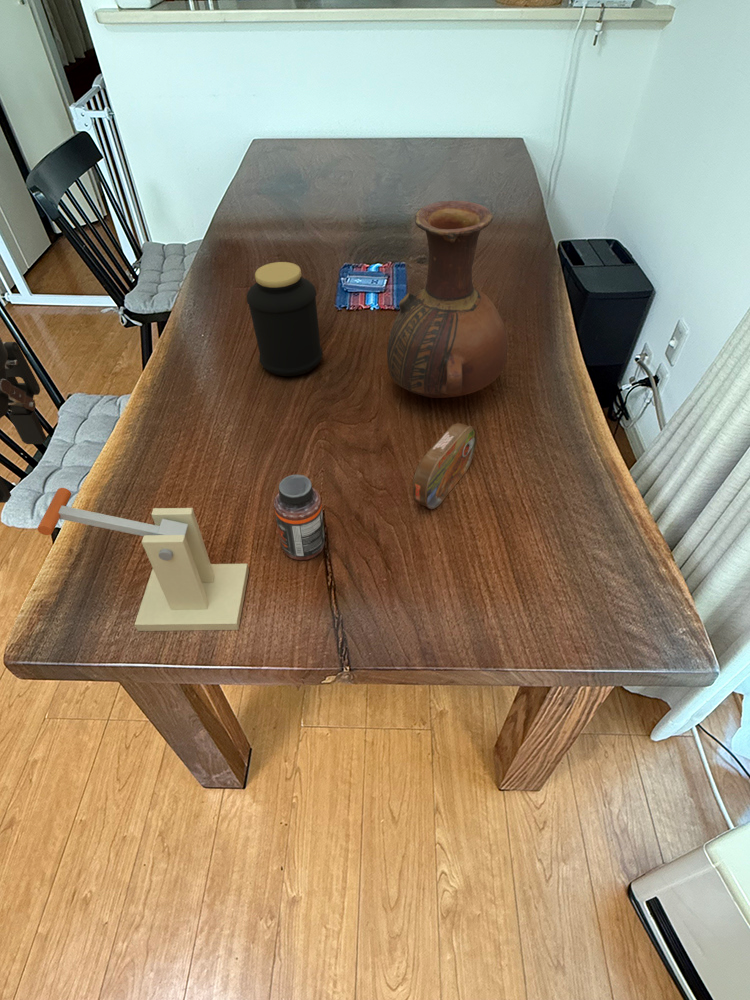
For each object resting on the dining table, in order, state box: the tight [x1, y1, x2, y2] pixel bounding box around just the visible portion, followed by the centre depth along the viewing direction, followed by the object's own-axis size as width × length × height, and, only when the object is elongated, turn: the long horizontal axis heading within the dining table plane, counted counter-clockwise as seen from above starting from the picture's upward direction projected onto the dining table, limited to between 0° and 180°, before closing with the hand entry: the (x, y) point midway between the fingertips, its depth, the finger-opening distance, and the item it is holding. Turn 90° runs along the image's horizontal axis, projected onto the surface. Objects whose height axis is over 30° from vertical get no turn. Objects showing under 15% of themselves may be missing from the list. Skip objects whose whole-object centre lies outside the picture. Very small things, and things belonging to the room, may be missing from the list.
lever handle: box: [36, 487, 188, 537], centre depth 64 cm, size 14×6×2 cm, turn 90°
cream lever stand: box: [134, 507, 250, 632], centre depth 69 cm, size 12×9×14 cm
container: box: [246, 261, 324, 377], centre depth 105 cm, size 12×12×18 cm
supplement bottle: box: [273, 474, 326, 561], centre depth 76 cm, size 6×6×11 cm
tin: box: [412, 422, 478, 510], centre depth 85 cm, size 15×3×8 cm, turn 146°
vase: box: [386, 200, 508, 399], centre depth 95 cm, size 25×20×30 cm
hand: (18, 469), depth 59 cm, fingers open, 8 cm apart
